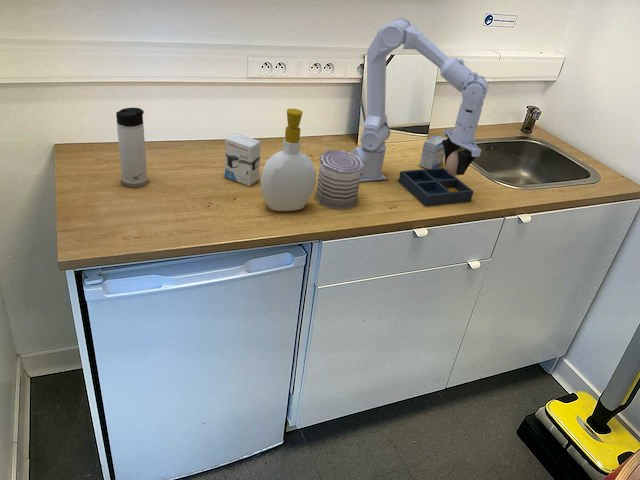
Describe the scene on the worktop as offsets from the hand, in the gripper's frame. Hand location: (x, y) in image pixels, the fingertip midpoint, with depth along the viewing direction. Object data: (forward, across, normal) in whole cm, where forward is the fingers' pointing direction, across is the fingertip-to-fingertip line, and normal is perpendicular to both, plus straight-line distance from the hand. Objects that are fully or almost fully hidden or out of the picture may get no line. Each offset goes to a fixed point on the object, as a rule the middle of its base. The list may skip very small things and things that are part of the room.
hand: (454, 169), depth 152 cm
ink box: (+9, +21, +55) cm, 59 cm away
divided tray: (+9, +4, +2) cm, 10 cm away
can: (+9, +5, +33) cm, 34 cm away
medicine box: (+9, +20, -7) cm, 23 cm away
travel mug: (+9, +24, +83) cm, 87 cm away
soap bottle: (+9, +4, +48) cm, 49 cm away
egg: (+2, 0, 0) cm, 2 cm away
